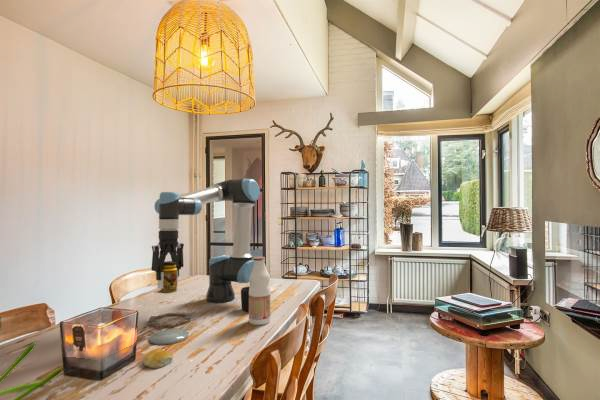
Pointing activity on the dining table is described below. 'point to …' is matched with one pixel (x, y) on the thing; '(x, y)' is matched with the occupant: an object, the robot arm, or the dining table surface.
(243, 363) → the dining table surface
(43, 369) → the dining table surface
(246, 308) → the pen holder
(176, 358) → the dining table surface
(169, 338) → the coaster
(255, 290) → the fruit juice
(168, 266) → the condiment
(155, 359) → the mossy stone
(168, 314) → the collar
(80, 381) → the dining table surface
